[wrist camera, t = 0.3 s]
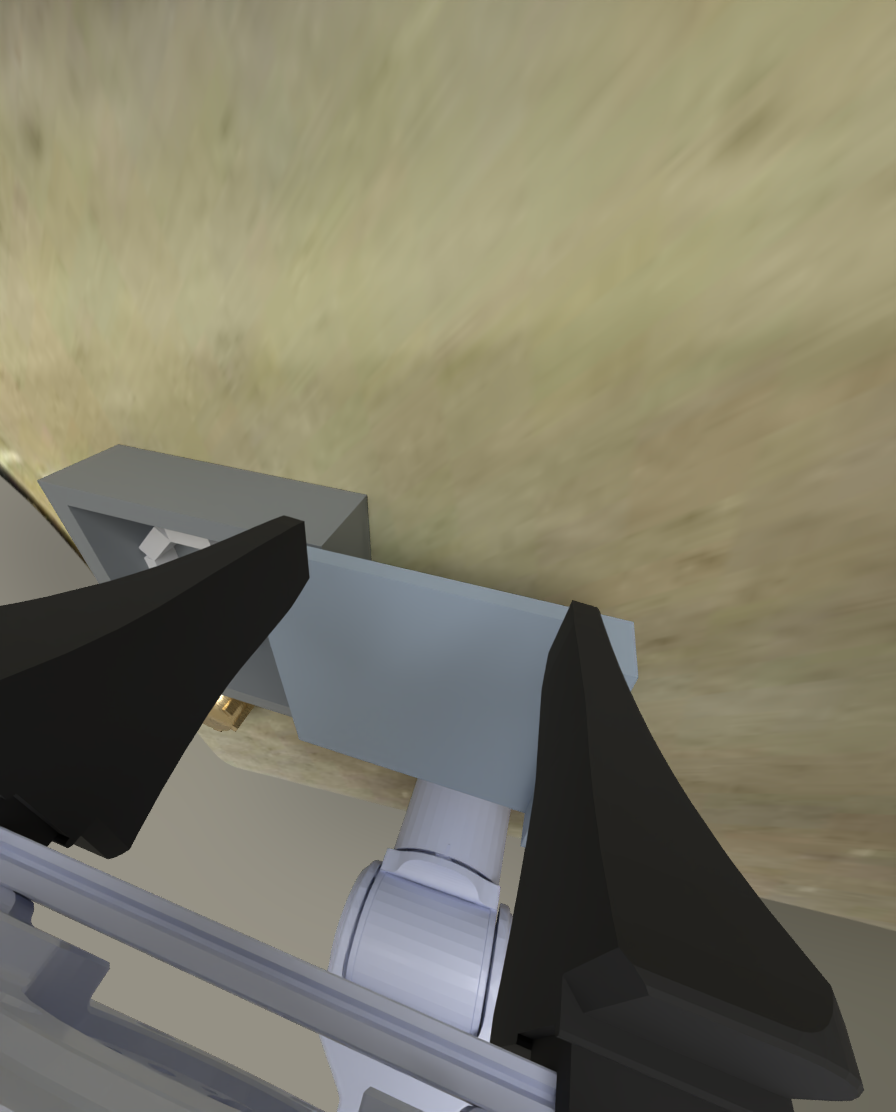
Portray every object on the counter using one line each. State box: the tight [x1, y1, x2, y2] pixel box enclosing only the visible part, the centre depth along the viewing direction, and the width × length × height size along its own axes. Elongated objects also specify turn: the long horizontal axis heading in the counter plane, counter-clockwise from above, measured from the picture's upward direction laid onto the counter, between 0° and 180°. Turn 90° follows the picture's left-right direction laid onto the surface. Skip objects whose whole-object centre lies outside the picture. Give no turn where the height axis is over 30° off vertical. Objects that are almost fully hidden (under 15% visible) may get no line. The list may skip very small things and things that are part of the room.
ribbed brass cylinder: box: [203, 695, 255, 732], centre depth 37 cm, size 5×5×4 cm
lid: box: [268, 546, 638, 847], centre depth 22 cm, size 16×16×3 cm
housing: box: [37, 444, 371, 717], centre depth 27 cm, size 16×16×5 cm
